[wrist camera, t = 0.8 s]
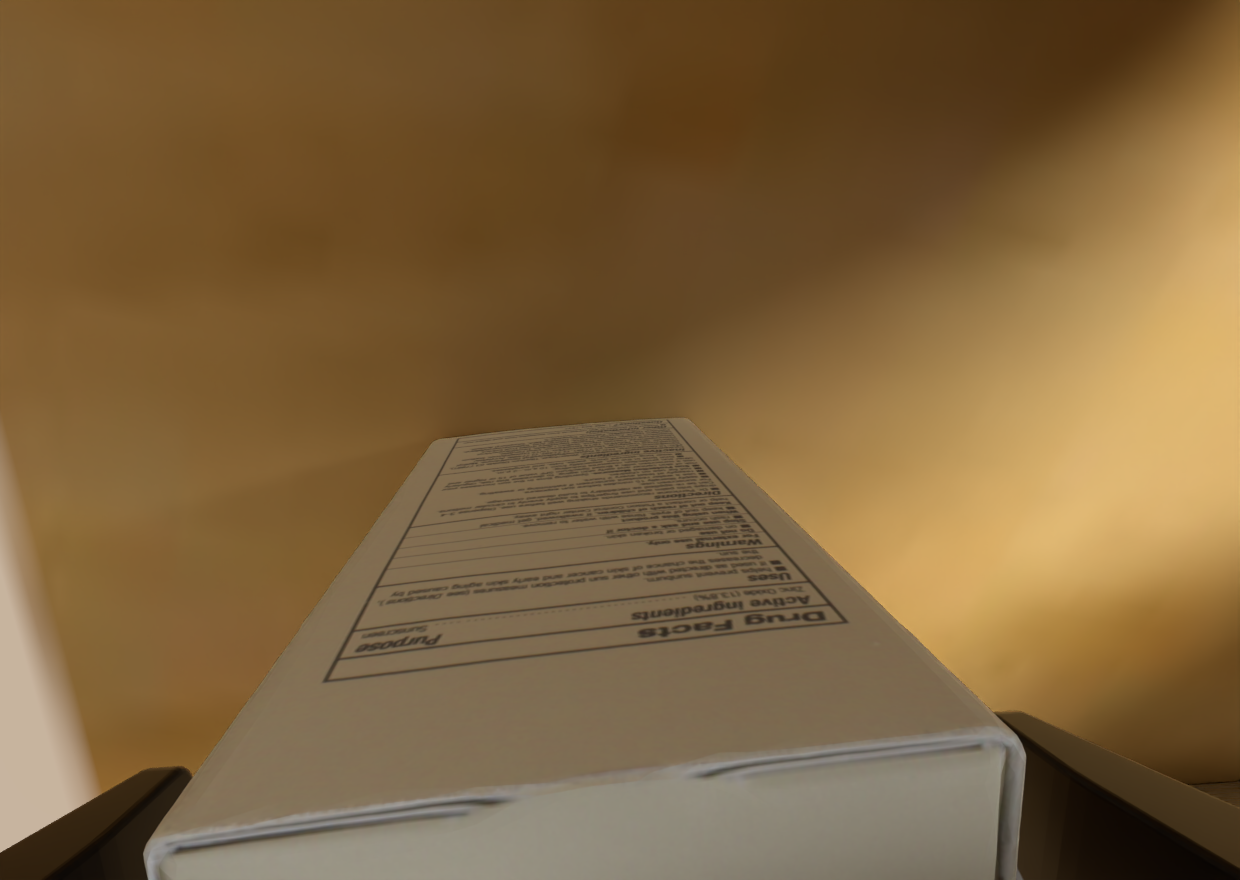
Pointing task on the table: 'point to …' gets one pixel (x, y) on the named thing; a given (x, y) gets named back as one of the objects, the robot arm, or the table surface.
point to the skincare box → (598, 694)
